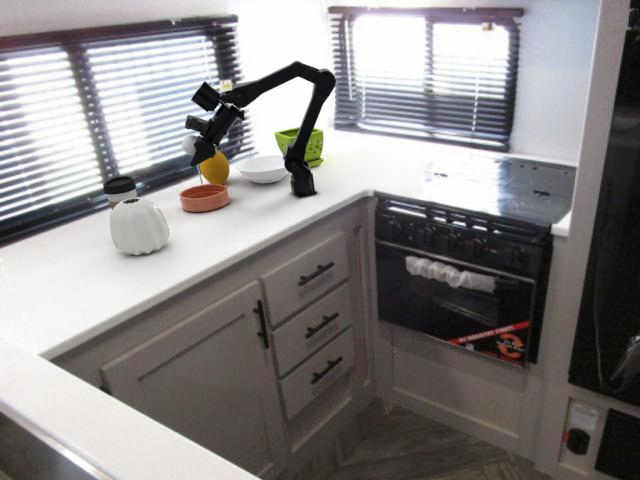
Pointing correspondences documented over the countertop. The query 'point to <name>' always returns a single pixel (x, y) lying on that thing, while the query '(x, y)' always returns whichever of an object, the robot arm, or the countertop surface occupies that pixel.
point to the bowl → (263, 169)
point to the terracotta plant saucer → (204, 197)
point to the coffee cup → (119, 189)
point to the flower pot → (312, 149)
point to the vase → (138, 226)
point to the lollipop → (190, 148)
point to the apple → (215, 169)
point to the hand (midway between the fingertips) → (192, 163)
